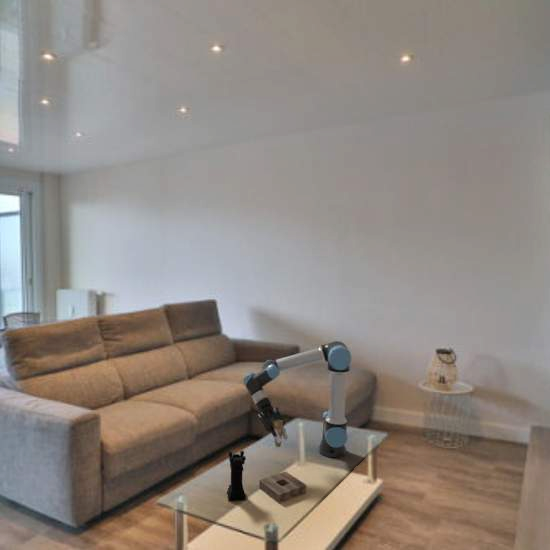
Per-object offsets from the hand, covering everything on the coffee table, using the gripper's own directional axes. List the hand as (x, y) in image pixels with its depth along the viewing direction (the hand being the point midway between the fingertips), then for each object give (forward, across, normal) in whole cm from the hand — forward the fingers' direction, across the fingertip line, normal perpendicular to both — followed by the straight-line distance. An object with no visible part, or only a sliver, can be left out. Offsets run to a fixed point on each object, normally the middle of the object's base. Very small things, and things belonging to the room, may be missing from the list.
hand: (283, 440), depth 243 cm
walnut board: (+20, +11, -6) cm, 24 cm away
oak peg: (0, 0, -6) cm, 6 cm away
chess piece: (+12, +30, -14) cm, 36 cm away
